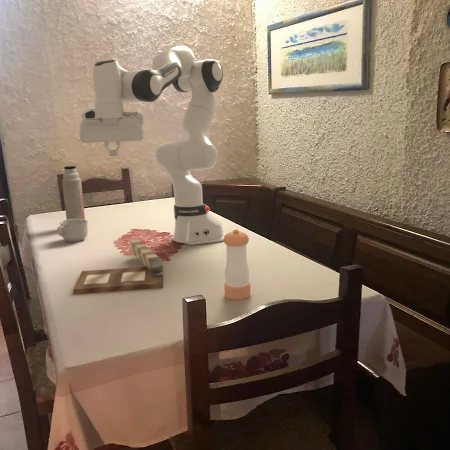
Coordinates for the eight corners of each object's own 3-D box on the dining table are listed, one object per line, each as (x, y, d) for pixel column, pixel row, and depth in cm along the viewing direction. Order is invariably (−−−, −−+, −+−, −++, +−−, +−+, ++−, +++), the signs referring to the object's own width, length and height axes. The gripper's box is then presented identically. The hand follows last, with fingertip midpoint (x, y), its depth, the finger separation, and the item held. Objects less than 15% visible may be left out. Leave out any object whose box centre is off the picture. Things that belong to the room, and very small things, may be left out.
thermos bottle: (88, 225, 221) (82, 165, 214) (80, 230, 214) (73, 167, 207) (73, 225, 223) (66, 165, 216) (64, 229, 215) (57, 167, 209)
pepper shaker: (249, 289, 140) (248, 226, 135) (251, 299, 133) (250, 232, 128) (224, 290, 140) (222, 226, 135) (225, 300, 133) (223, 233, 128)
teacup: (79, 235, 206) (77, 217, 204) (94, 239, 199) (92, 220, 197) (49, 242, 196) (47, 223, 194) (64, 247, 189) (62, 227, 187)
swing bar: (164, 272, 150) (163, 259, 149) (151, 274, 148) (150, 261, 147) (140, 249, 174) (139, 238, 173) (129, 250, 173) (128, 240, 172)
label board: (163, 269, 159) (162, 263, 159) (163, 287, 144) (162, 280, 143) (82, 275, 156) (81, 269, 156) (73, 294, 141) (72, 287, 140)
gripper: (142, 111, 160) (145, 153, 163) (79, 113, 158) (84, 155, 161) (142, 111, 154) (145, 155, 157) (76, 113, 152) (80, 157, 155)
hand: (113, 155), depth 159 cm, fingers closed
